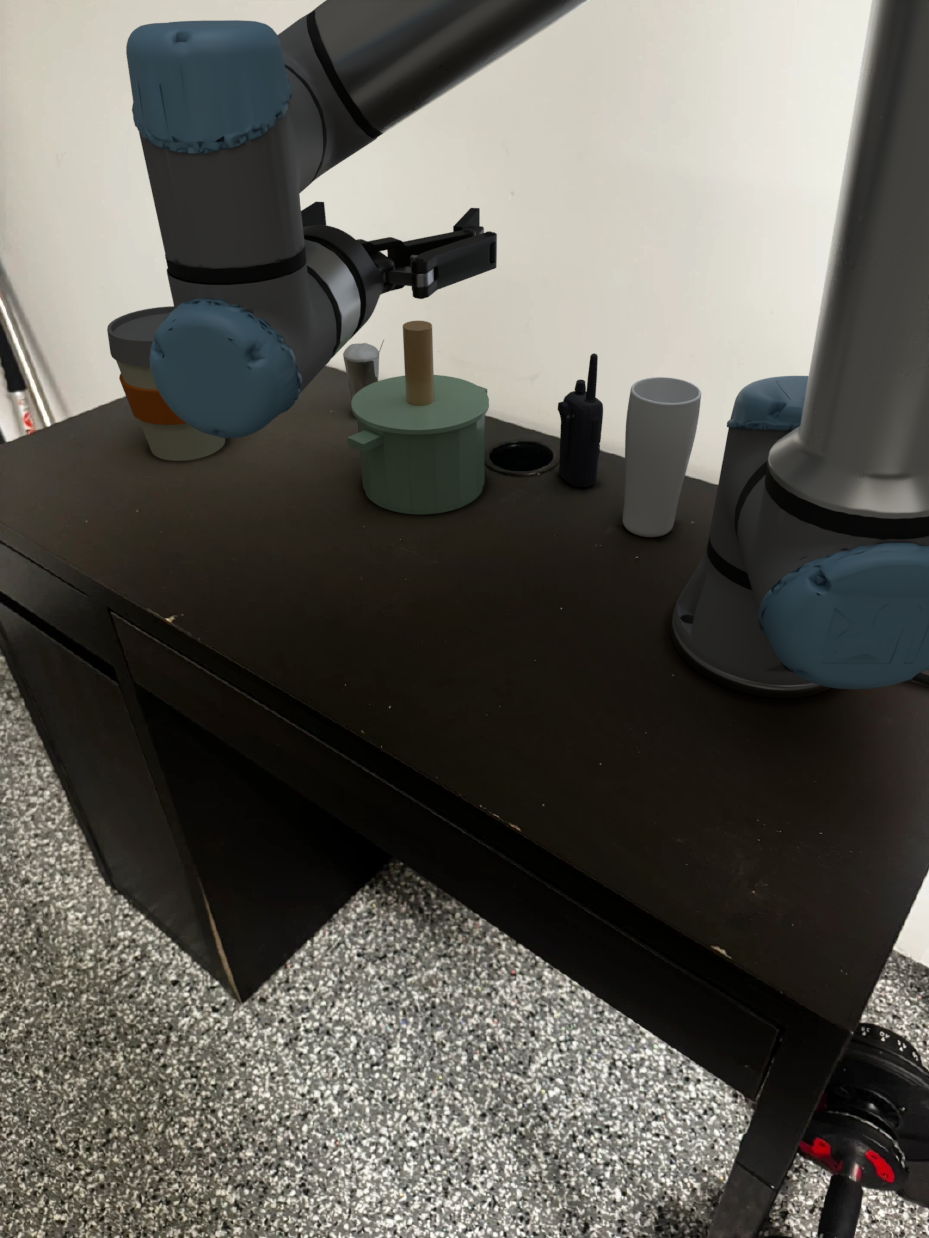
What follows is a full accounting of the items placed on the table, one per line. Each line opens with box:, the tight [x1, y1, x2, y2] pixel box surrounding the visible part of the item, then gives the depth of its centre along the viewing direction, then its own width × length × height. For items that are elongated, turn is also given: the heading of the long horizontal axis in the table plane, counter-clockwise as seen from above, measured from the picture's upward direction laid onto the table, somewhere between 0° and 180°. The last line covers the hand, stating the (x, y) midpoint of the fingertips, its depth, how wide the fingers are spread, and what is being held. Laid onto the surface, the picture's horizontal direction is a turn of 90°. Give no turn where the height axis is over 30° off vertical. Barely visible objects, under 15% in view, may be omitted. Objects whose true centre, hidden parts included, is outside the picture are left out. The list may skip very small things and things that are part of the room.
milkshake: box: [342, 339, 385, 402], centre depth 113 cm, size 4×5×10 cm
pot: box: [347, 385, 488, 515], centre depth 98 cm, size 14×19×10 cm
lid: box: [350, 320, 490, 435], centre depth 93 cm, size 15×15×9 cm
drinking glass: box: [621, 376, 702, 538], centre depth 88 cm, size 7×7×15 cm
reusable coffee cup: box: [106, 305, 226, 462], centre depth 105 cm, size 13×13×15 cm
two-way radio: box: [557, 353, 604, 488], centre depth 97 cm, size 6×4×15 cm
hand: (397, 221), depth 76 cm, fingers open, 13 cm apart
